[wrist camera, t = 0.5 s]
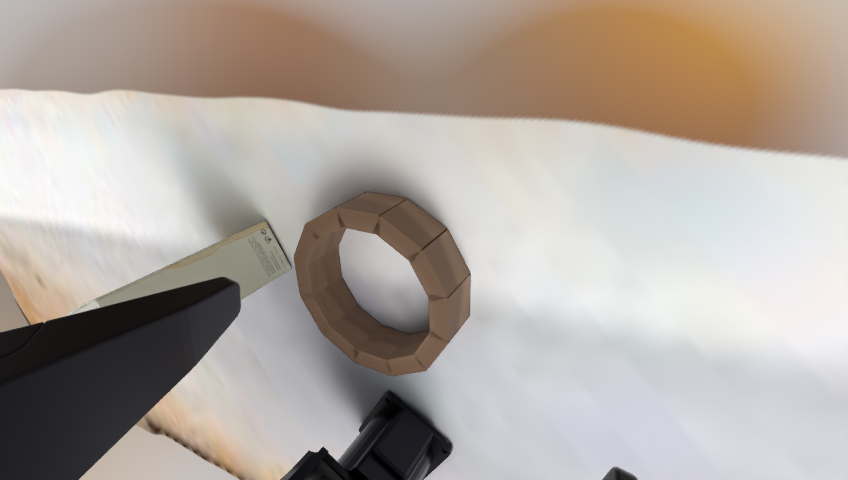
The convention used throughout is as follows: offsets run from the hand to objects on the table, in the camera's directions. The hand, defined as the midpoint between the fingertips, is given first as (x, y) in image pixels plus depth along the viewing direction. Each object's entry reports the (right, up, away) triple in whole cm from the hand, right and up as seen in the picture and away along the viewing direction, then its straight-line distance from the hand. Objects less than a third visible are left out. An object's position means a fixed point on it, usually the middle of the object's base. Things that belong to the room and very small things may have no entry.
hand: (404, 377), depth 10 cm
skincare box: (-13, +2, +26) cm, 29 cm away
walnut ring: (-2, +1, +20) cm, 20 cm away
